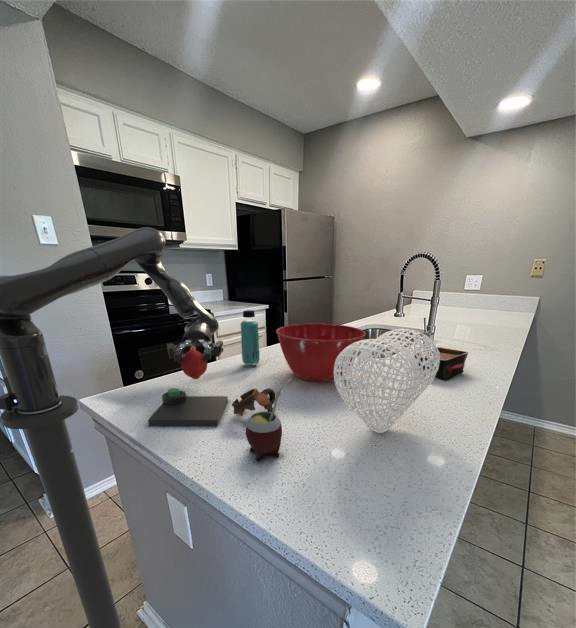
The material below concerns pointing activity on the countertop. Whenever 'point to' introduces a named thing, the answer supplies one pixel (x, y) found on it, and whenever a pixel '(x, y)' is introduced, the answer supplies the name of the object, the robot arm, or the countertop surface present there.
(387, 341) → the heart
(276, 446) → the mate gourd
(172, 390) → the button
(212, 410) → the scale
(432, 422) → the countertop surface
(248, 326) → the beverage bottle
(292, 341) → the mixing bowl
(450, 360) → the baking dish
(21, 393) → the robot arm
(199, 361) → the onion
